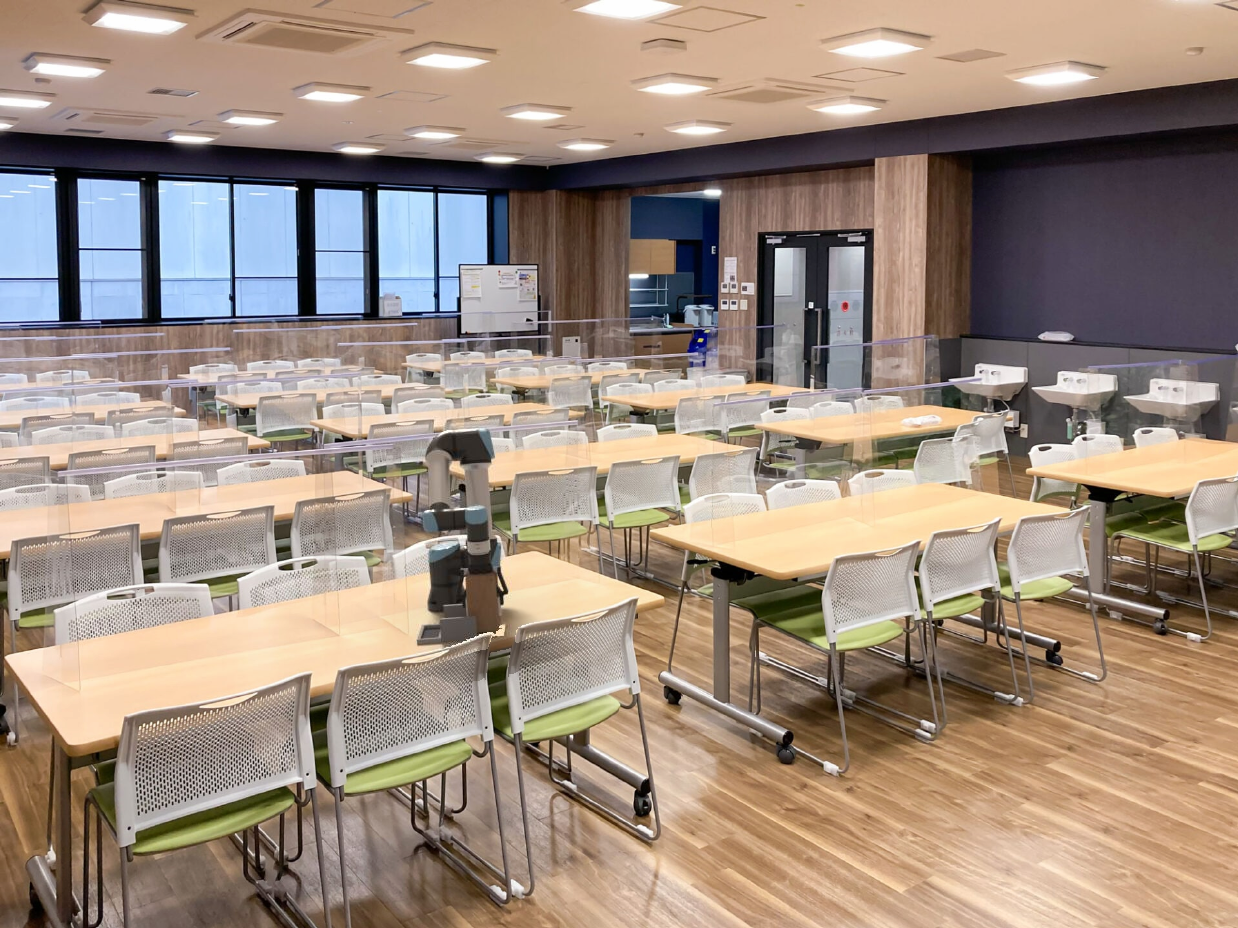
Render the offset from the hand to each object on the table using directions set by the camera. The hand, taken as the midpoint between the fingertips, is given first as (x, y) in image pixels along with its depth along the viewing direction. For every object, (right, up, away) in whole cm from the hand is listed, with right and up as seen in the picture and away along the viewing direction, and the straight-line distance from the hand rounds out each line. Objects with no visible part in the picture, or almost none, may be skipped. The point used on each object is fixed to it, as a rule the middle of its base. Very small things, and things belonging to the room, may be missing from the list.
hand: (484, 615), depth 396 cm
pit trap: (-18, -7, 0) cm, 19 cm away
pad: (+3, -6, +1) cm, 6 cm away
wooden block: (0, -5, +2) cm, 5 cm away
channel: (-8, -6, +1) cm, 10 cm away
